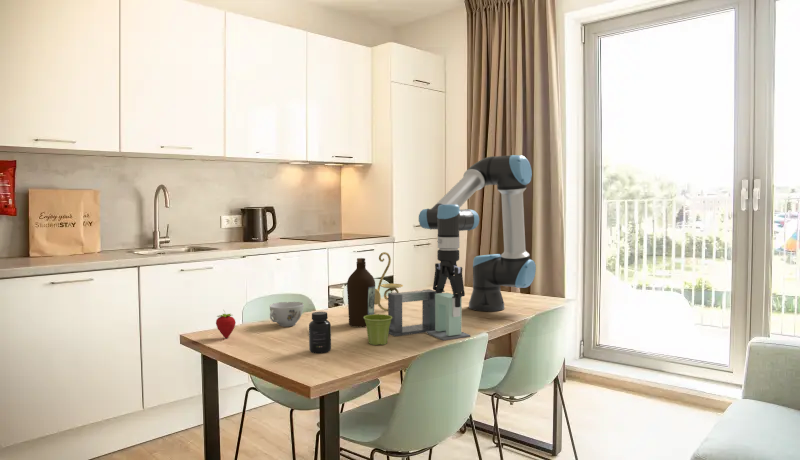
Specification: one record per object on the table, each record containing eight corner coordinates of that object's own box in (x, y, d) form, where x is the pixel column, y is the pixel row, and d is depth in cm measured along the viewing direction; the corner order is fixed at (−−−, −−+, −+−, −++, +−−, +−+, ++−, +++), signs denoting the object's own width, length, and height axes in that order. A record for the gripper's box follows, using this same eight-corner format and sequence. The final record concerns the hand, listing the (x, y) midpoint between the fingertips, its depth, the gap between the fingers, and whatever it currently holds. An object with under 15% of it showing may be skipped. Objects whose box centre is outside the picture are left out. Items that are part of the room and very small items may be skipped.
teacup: (286, 320, 219) (286, 299, 219) (310, 323, 213) (310, 302, 212) (257, 327, 207) (257, 306, 206) (282, 331, 200) (282, 309, 200)
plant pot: (373, 338, 191) (373, 312, 190) (397, 341, 186) (397, 315, 186) (358, 344, 183) (357, 318, 182) (382, 348, 178) (382, 321, 178)
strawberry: (224, 341, 186) (223, 312, 186) (212, 338, 191) (211, 309, 191) (239, 338, 191) (239, 309, 190) (227, 334, 196) (227, 306, 195)
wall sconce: (382, 315, 228) (381, 253, 227) (367, 311, 235) (367, 252, 234) (407, 310, 237) (407, 251, 236) (393, 307, 244) (392, 249, 243)
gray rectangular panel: (452, 329, 202) (452, 328, 202) (470, 336, 192) (470, 334, 192) (426, 333, 197) (426, 331, 197) (443, 340, 187) (443, 338, 187)
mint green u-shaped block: (447, 328, 200) (447, 292, 199) (461, 334, 192) (461, 296, 191) (435, 330, 198) (435, 293, 197) (449, 335, 190) (449, 297, 189)
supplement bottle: (309, 348, 178) (309, 310, 178) (331, 347, 179) (331, 310, 178) (308, 354, 172) (307, 315, 171) (330, 353, 172) (330, 314, 171)
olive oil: (343, 326, 207) (342, 259, 206) (352, 320, 218) (352, 256, 216) (370, 328, 205) (370, 260, 203) (378, 322, 215) (378, 257, 214)
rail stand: (429, 325, 209) (429, 288, 208) (441, 330, 202) (441, 291, 201) (383, 331, 200) (383, 292, 199) (394, 336, 193) (393, 296, 192)
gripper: (422, 247, 201) (423, 309, 202) (456, 252, 182) (456, 321, 183) (440, 246, 204) (440, 307, 206) (475, 251, 185) (475, 318, 186)
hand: (448, 313), depth 194 cm, fingers open, 9 cm apart
